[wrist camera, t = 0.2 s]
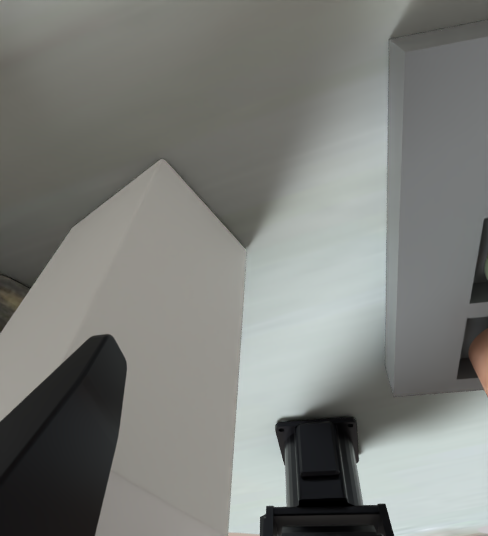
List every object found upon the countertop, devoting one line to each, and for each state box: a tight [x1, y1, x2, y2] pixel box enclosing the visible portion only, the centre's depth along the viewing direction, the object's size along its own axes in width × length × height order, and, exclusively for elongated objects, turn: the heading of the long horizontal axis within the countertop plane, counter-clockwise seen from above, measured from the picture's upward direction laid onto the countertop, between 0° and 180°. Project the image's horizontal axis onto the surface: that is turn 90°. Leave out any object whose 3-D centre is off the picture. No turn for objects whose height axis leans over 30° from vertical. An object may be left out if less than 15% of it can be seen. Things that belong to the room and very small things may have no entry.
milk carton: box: [0, 159, 247, 536], centre depth 17 cm, size 7×7×19 cm
